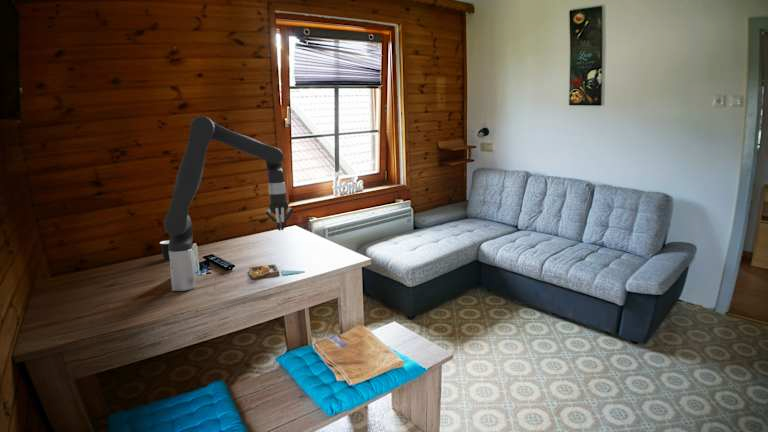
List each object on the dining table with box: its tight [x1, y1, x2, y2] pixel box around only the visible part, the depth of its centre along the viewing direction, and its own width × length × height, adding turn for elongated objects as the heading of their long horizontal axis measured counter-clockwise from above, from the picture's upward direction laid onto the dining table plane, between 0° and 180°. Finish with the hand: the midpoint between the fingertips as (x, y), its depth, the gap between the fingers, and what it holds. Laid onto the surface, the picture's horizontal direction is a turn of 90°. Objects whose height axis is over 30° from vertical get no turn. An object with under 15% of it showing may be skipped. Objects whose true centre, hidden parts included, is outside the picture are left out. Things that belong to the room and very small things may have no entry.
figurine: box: [249, 265, 271, 277], centre depth 196 cm, size 8×6×12 cm
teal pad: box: [280, 269, 305, 277], centre depth 205 cm, size 10×10×1 cm
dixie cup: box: [159, 239, 170, 262], centre depth 229 cm, size 8×8×11 cm
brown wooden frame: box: [248, 264, 280, 280], centre depth 202 cm, size 12×14×2 cm
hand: (280, 230), depth 201 cm, fingers closed
